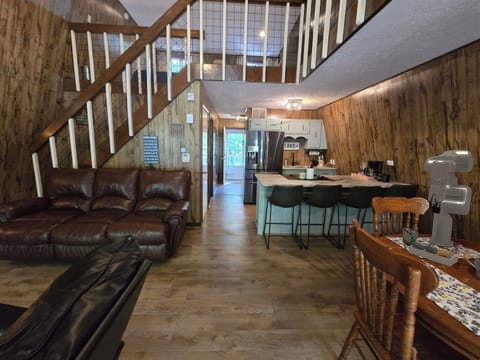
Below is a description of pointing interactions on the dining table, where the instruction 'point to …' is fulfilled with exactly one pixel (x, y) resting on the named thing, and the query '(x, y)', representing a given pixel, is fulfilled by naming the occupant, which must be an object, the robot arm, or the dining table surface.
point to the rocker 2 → (430, 249)
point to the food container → (409, 236)
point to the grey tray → (434, 256)
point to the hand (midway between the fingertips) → (435, 213)
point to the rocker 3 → (444, 253)
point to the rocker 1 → (417, 245)
